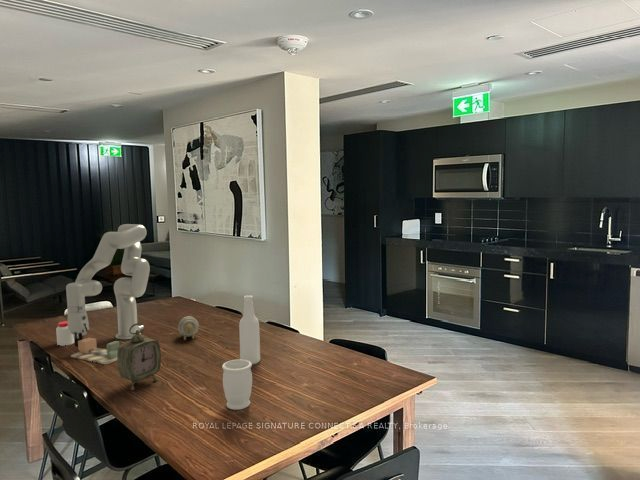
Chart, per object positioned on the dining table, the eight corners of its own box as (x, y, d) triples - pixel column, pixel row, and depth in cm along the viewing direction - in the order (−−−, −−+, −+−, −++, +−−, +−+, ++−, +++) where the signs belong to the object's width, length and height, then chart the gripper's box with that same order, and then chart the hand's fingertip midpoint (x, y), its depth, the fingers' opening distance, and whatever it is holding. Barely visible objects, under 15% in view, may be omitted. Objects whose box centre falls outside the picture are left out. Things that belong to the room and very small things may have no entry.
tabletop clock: (131, 393, 178) (127, 329, 175) (116, 388, 182) (112, 326, 180) (162, 380, 190) (158, 320, 187) (147, 375, 195) (144, 317, 192)
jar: (225, 399, 172) (224, 359, 170) (253, 397, 172) (252, 358, 171) (221, 412, 161) (220, 370, 159) (252, 410, 162) (250, 369, 160)
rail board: (70, 356, 219) (69, 340, 218) (93, 349, 229) (92, 333, 229) (105, 364, 208) (104, 347, 207) (127, 356, 219) (126, 339, 218)
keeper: (78, 352, 221) (77, 340, 220) (89, 348, 226) (89, 337, 225) (85, 354, 218) (84, 342, 218) (96, 350, 224) (96, 338, 223)
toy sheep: (180, 343, 237) (179, 321, 236) (176, 333, 252) (175, 313, 251) (201, 340, 241) (200, 319, 240) (196, 331, 256) (195, 311, 255)
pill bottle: (66, 346, 234) (65, 324, 233) (53, 345, 236) (52, 324, 235) (77, 341, 242) (76, 320, 241) (64, 340, 243) (63, 320, 242)
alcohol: (252, 356, 215) (250, 292, 212) (264, 361, 209) (262, 295, 206) (236, 361, 209) (234, 296, 206) (248, 366, 203) (245, 299, 200)
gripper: (93, 308, 223) (96, 345, 225) (73, 305, 230) (76, 341, 231) (79, 312, 216) (82, 350, 218) (59, 308, 223) (62, 346, 225)
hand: (79, 345), depth 225 cm, fingers closed
